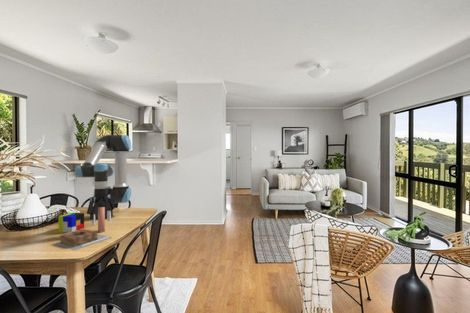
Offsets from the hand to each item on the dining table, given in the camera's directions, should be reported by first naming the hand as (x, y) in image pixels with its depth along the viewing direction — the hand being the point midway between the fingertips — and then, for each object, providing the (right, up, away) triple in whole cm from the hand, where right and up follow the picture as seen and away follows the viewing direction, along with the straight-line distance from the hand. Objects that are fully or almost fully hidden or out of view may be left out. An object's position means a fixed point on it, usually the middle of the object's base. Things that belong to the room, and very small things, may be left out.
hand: (101, 222), depth 160 cm
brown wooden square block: (-3, -6, -17) cm, 19 cm away
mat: (-1, -7, -16) cm, 17 cm away
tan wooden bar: (0, -6, 0) cm, 6 cm away
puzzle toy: (-23, -6, +6) cm, 24 cm away
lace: (+6, -6, -18) cm, 20 cm away
